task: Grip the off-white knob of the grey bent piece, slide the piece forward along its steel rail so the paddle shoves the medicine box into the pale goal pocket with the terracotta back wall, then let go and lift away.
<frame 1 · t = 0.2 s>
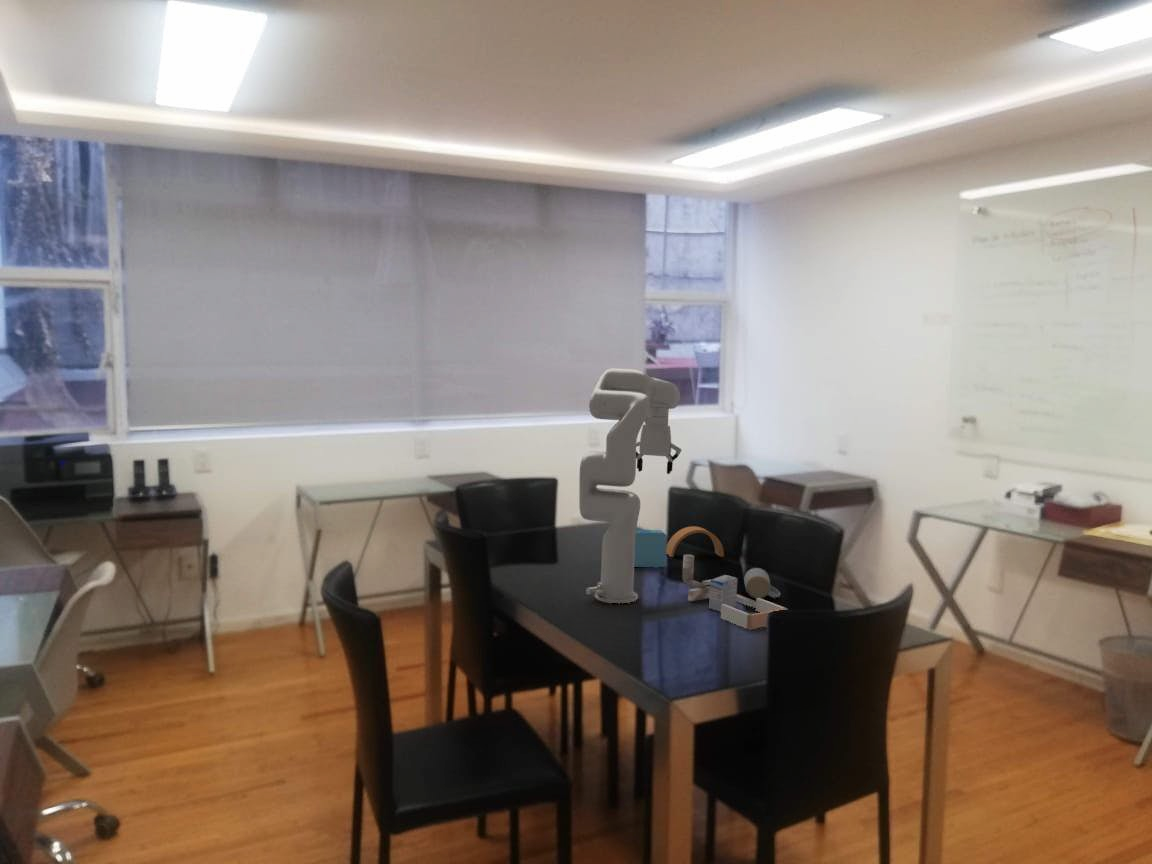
hand: (654, 472, 293), 31 cm above the table, tool pointing down, fingers open, 9 cm apart
guide rail: (738, 601, 255), on the table
medicine box: (722, 609, 248), on the table
grey bent piece: (703, 575, 259), point 6 cm above the table, slide at 0.0 cm
data package: (646, 567, 291), on the table
goal pocket: (752, 620, 238), on the table
ceramic mug: (761, 596, 262), on the table
arch: (694, 556, 309), on the table
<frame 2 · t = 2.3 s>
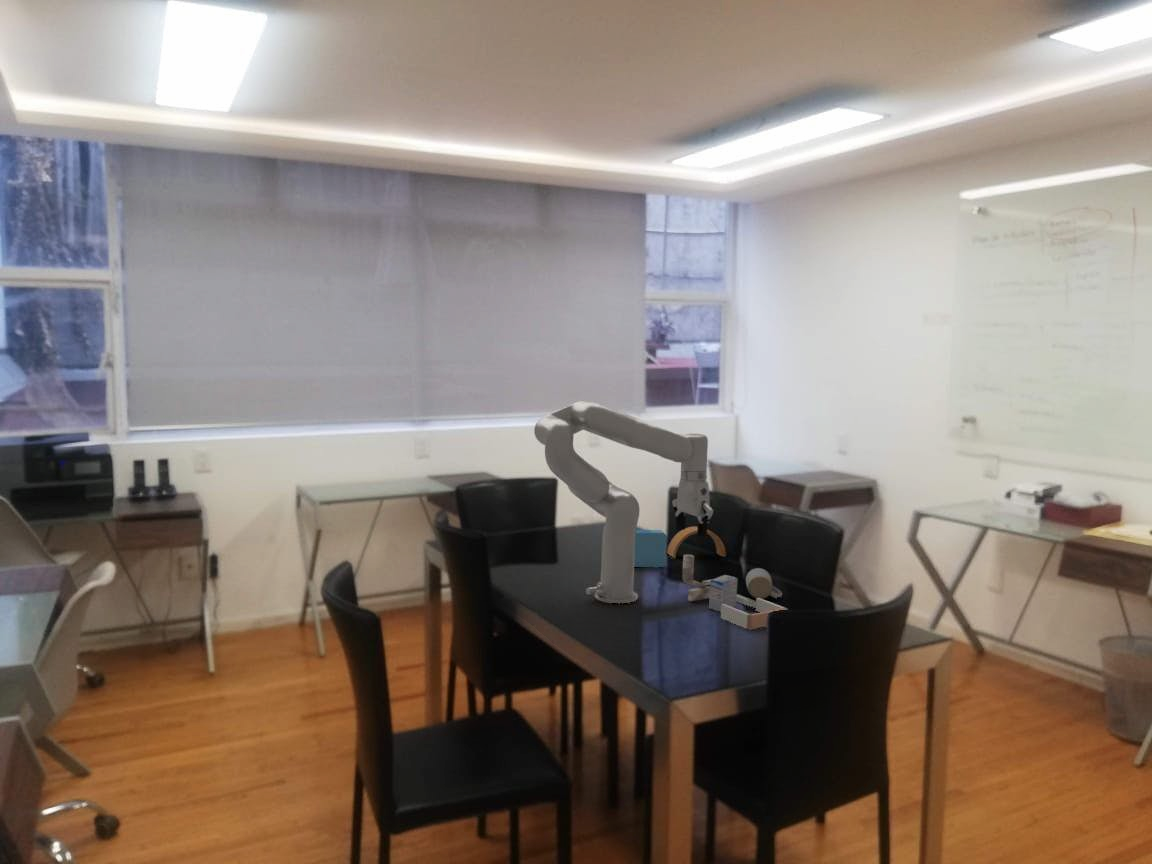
hand: (691, 533, 259), 18 cm above the table, tool pointing down, fingers open, 9 cm apart
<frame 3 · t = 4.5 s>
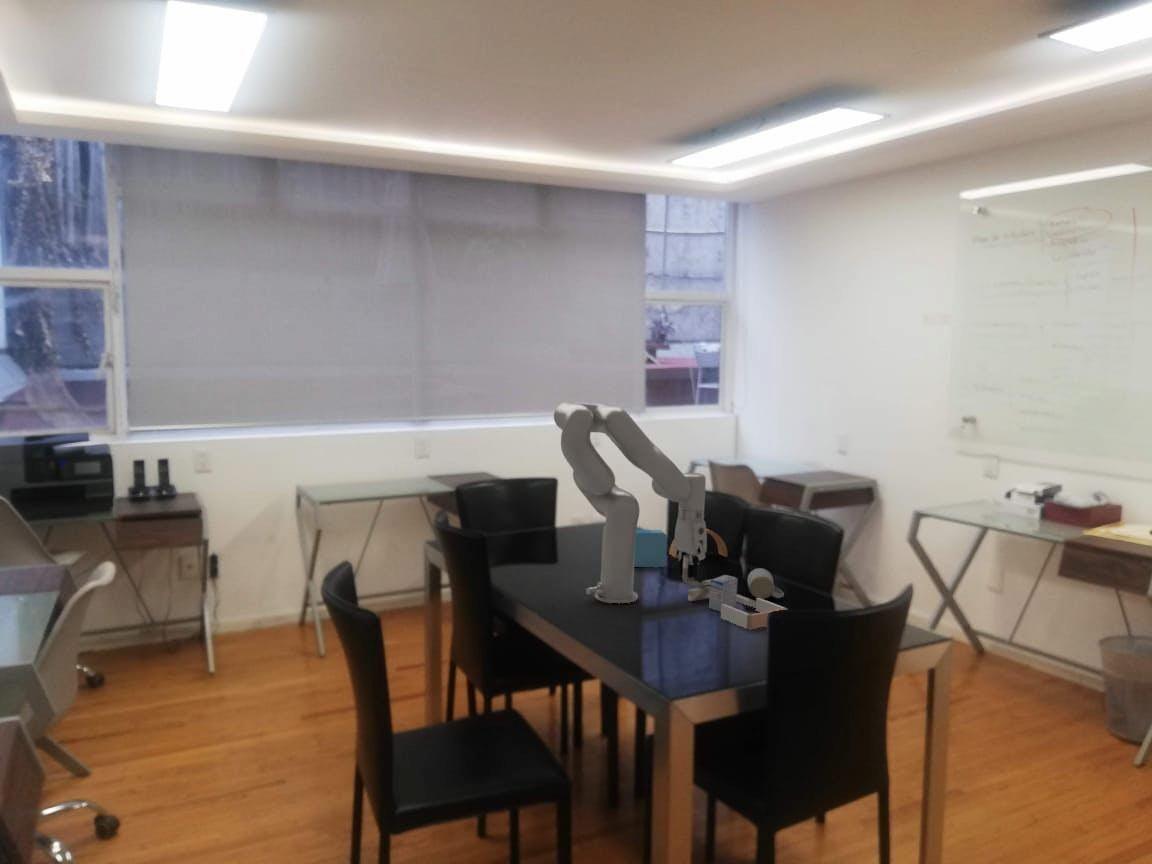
hand: (687, 574, 260), 6 cm above the table, tool pointing down, fingers closed on grey bent piece, 3 cm apart
grey bent piece: (703, 575, 259), point 6 cm above the table, slide at 0.0 cm, touching gripper
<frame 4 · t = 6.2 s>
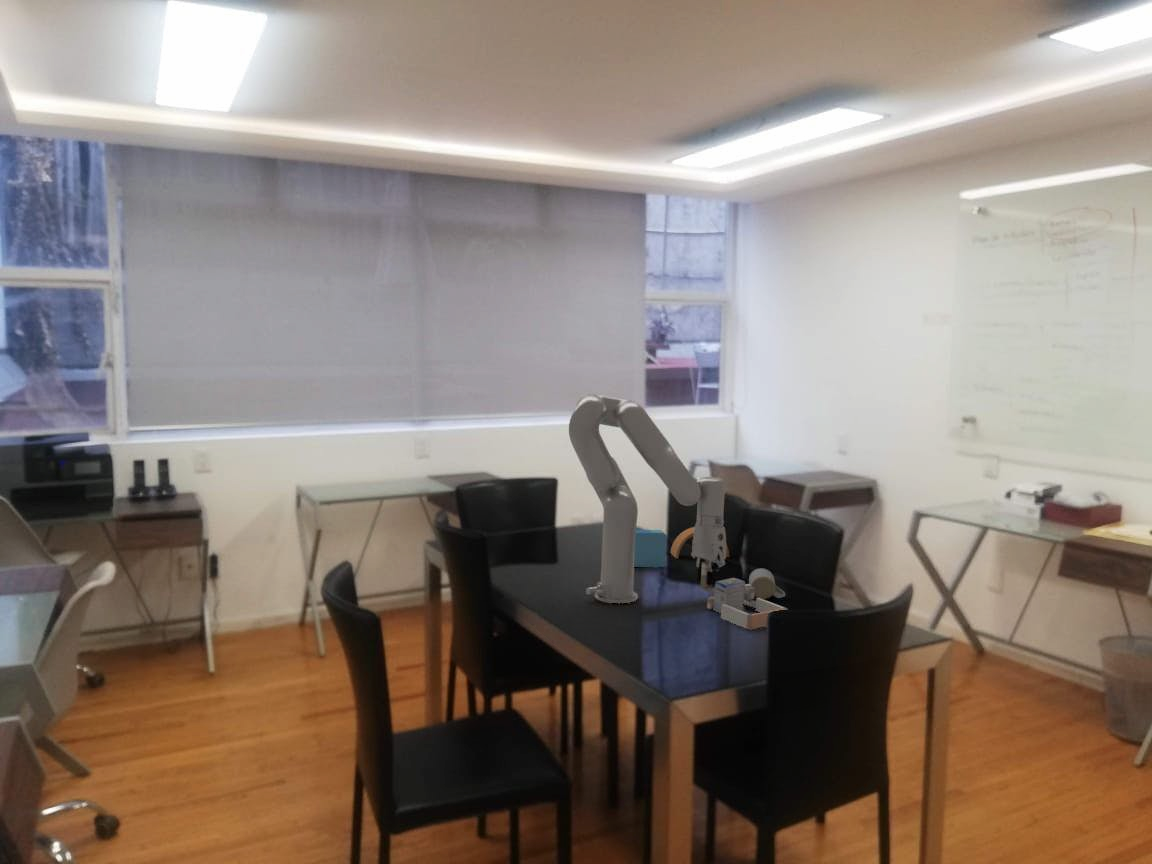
hand: (706, 581, 254), 6 cm above the table, tool pointing down, fingers closed on grey bent piece, 3 cm apart
medicine box: (728, 611, 245), on the table, touching grey bent piece
grey bent piece: (722, 583, 252), point 6 cm above the table, slide at 8.3 cm, touching gripper, medicine box
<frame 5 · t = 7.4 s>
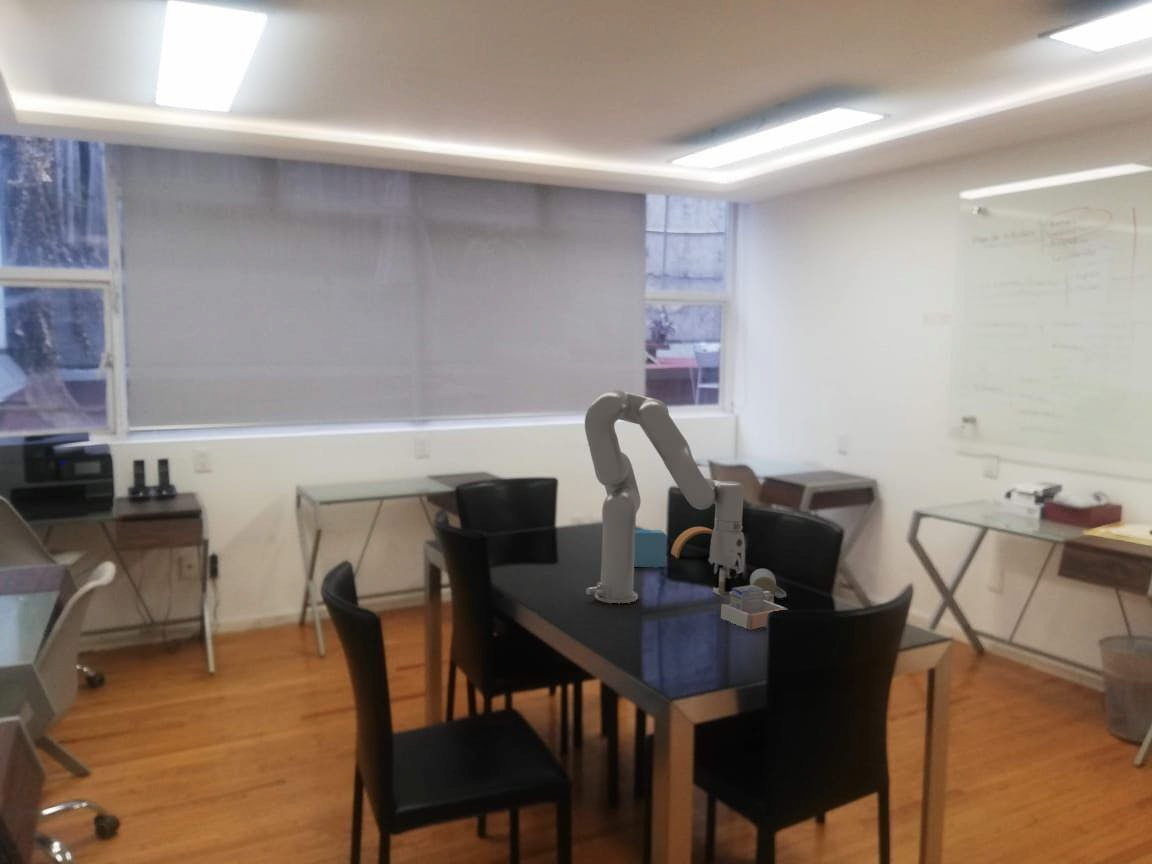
hand: (724, 588, 247), 6 cm above the table, tool pointing down, fingers closed on grey bent piece, 3 cm apart
medicine box: (745, 619, 239), on the table
grey bent piece: (740, 589, 246), point 6 cm above the table, slide at 15.9 cm, touching gripper
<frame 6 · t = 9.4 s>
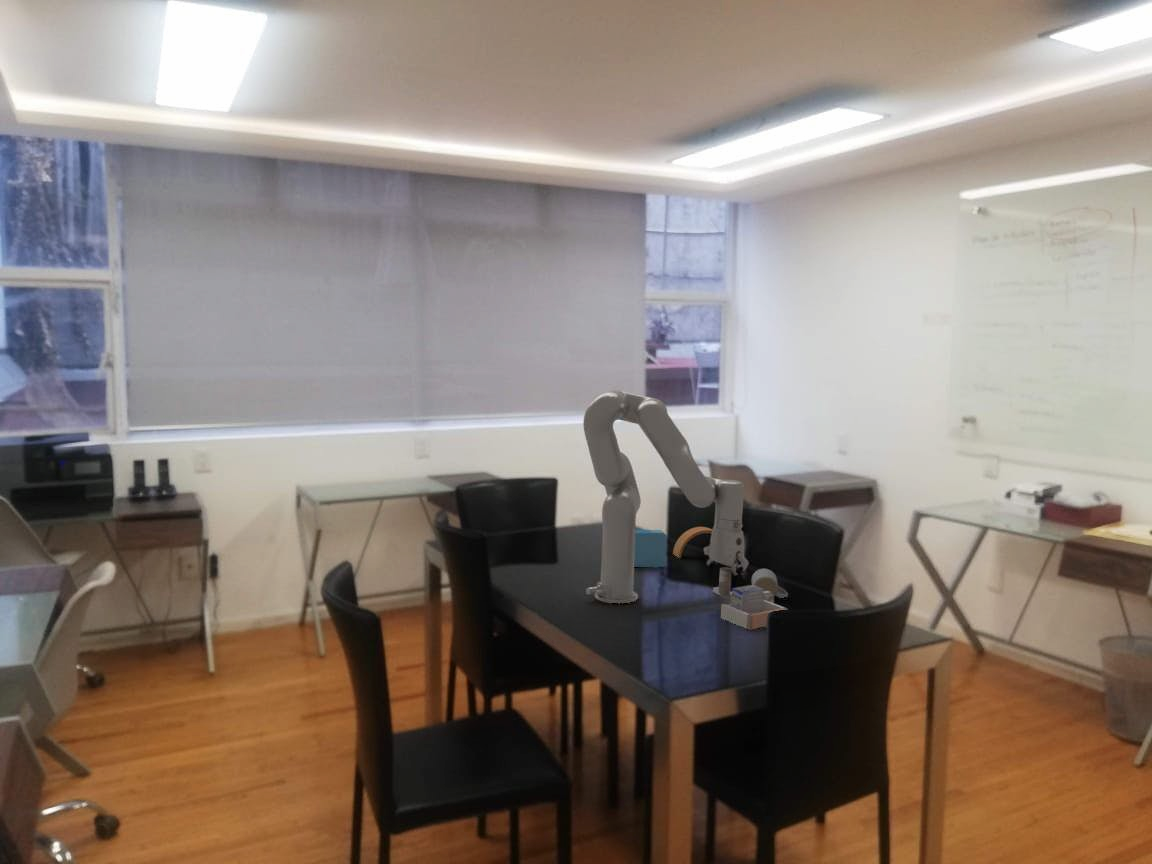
hand: (723, 583, 247), 7 cm above the table, tool pointing down, fingers open, 9 cm apart
grey bent piece: (740, 590, 246), point 6 cm above the table, slide at 16.0 cm
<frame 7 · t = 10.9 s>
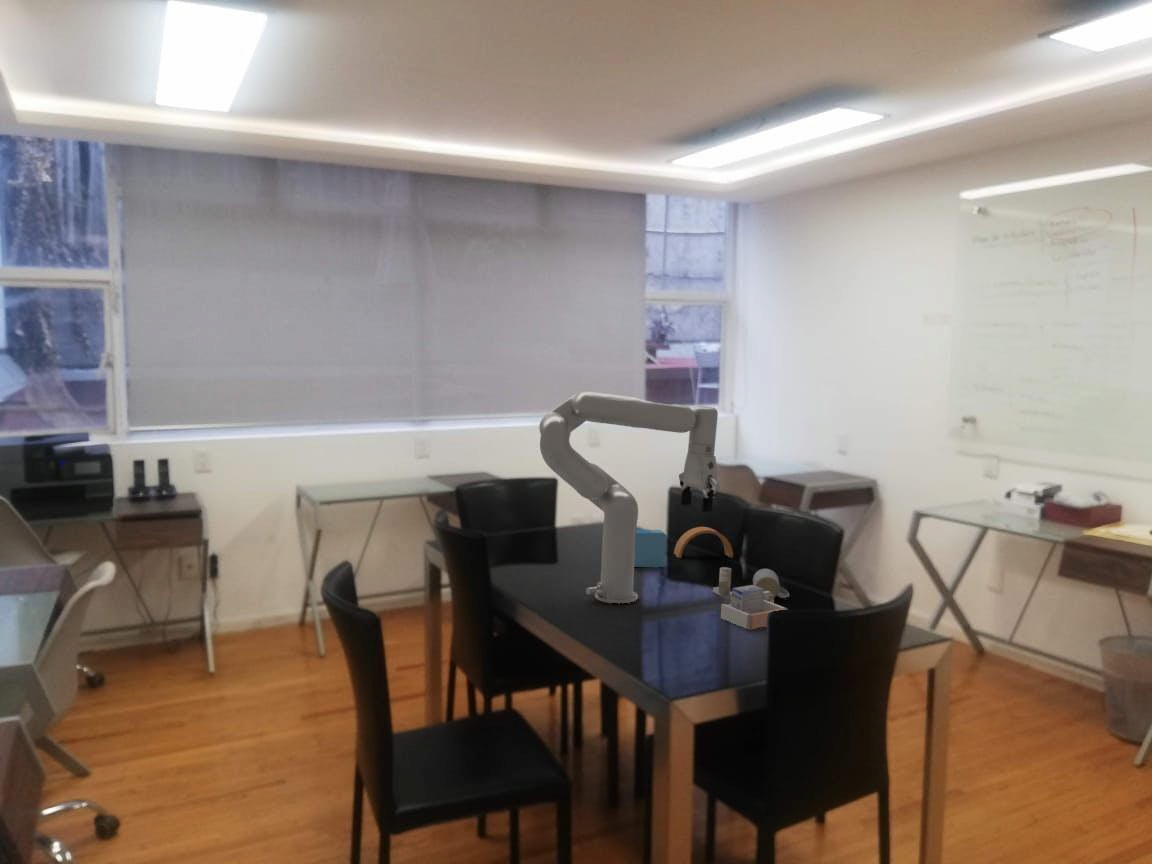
hand: (696, 508, 253), 27 cm above the table, tool pointing down, fingers open, 9 cm apart
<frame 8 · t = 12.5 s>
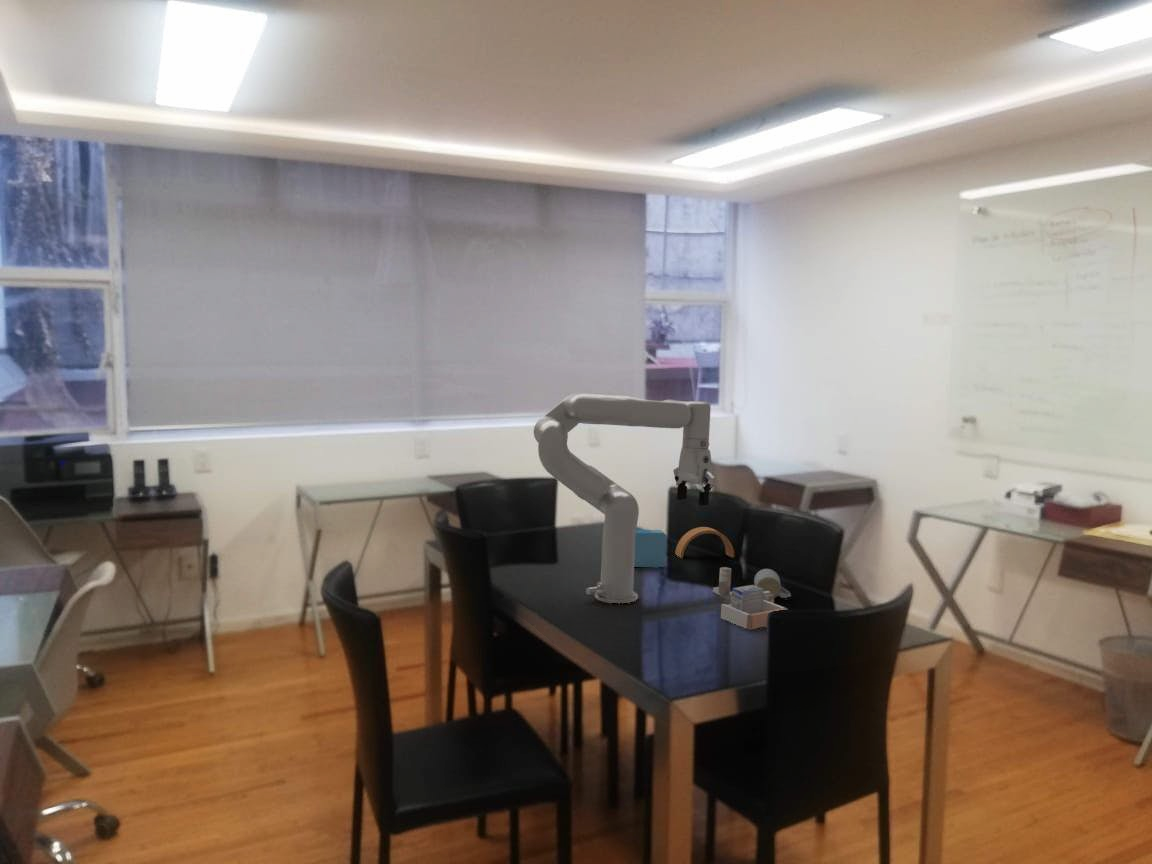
hand: (692, 502, 255), 28 cm above the table, tool pointing down, fingers open, 9 cm apart
at the end: medicine box inside the target area on the goal pocket (2.9 cm from its centre), point 0.0 cm above the goal pocket's base; medicine box tilted 0°; grey bent piece slide at 16.0 cm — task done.
